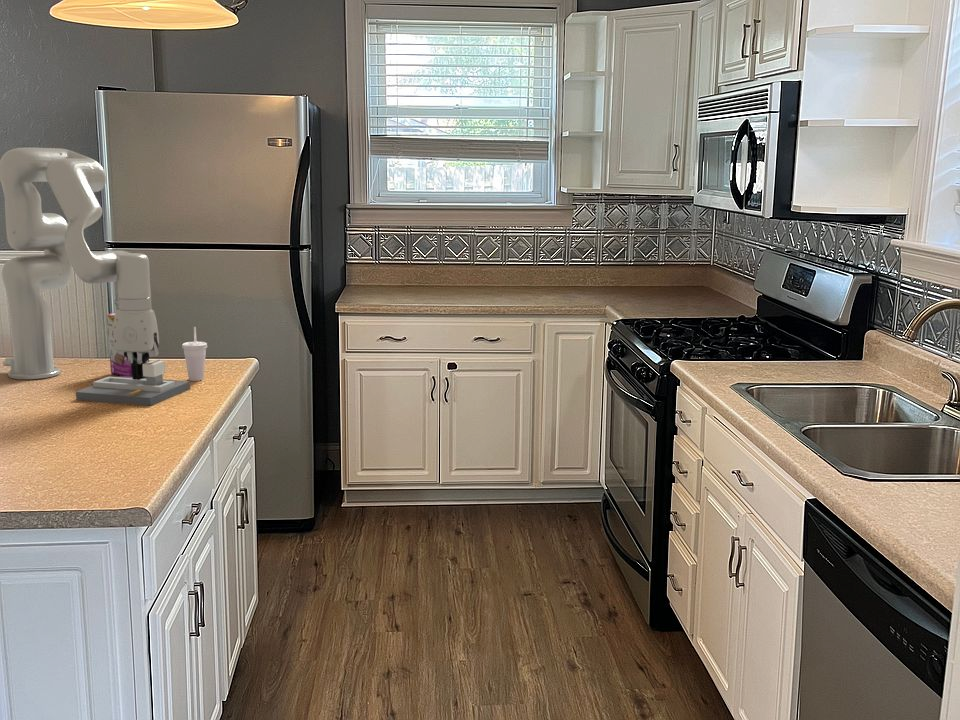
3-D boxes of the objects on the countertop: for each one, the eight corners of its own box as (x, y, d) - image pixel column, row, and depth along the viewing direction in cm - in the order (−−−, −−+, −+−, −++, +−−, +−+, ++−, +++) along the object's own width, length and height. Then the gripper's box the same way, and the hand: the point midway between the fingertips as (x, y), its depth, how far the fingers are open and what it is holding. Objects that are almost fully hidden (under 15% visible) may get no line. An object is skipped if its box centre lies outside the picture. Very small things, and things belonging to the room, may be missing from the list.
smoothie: (212, 377, 256) (210, 325, 253) (203, 382, 250) (201, 330, 247) (189, 376, 257) (186, 325, 254) (179, 381, 250) (177, 329, 248)
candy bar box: (109, 374, 258) (105, 314, 254) (125, 371, 262) (122, 311, 258) (134, 380, 251) (131, 318, 248) (150, 377, 255) (147, 316, 252)
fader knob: (143, 388, 233) (142, 363, 231) (155, 383, 237) (153, 359, 236) (154, 389, 232) (153, 364, 231) (166, 384, 237) (164, 360, 235)
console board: (76, 399, 230) (75, 387, 229) (120, 383, 247) (119, 371, 247) (150, 406, 226) (150, 392, 225) (190, 389, 243) (189, 376, 242)
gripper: (98, 305, 230) (103, 379, 233) (154, 308, 226) (158, 384, 230) (116, 301, 237) (121, 373, 240) (171, 304, 233) (174, 377, 237)
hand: (139, 378), depth 235 cm, fingers closed
